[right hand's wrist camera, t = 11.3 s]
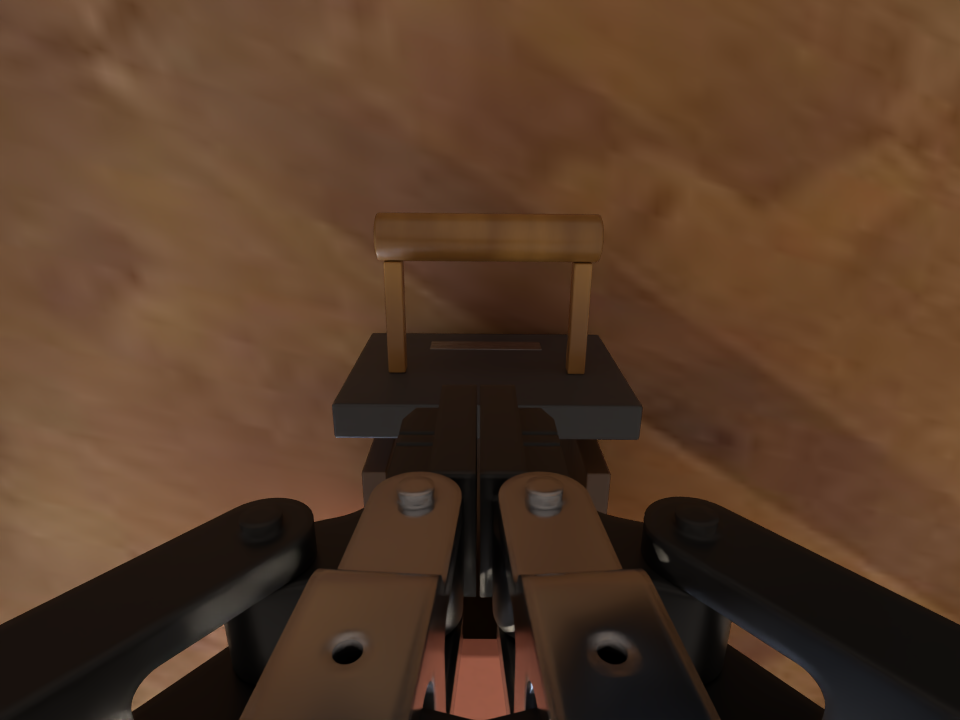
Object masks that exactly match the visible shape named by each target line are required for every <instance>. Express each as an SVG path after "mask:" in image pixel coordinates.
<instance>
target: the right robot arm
mask: <svg viewBox="0 0 960 720" xmlns="http://www.w3.org/2000/svg"><path fill="white" fill-rule="evenodd" d="M476 545H477V385H442V388H441V395H440V401H439V408H415V409H414V410H413V411H412V412H411V413H409V414H408V415H407V416H406V417H405V418H403V420H402V424H401V427H400V431H399V435H398V438H397V442H396V446H395V449H394V452H393V456H392V460H391V463H390V467H389V470H388V474H387V478H386V480H384V481H382V482H381V483H380V484H378V485H377V486H376V487H375V488H374V489H373V491H372V493H371V494H370V497H369V499H368V501H367V503H366V506H365V507H364V508H363V509H361V510H359V511H356V512H354V513H351V514H348V515H345V516H341V517H337V518H332V519H327V520H322V521H317V522H314V518H313V513H312V511H311V509H310V508H309V507H308V506H307V505H305V504H304V503H302V502H300V501H297V500H293V499H287V498H268V499H261V500H257V501H253V502H249V503H246V504H243V505H241V506H239V507H236V508H234V509H232V510H230V511H228V512H226V513H224V514H222V515H220V516H218V517H216V518H214V519H212V520H210V521H208V522H206V523H204V524H202V525H200V526H198V527H196V528H194V529H192V530H190V531H188V532H186V533H184V534H182V535H180V536H178V537H176V538H174V539H172V540H170V541H168V542H166V543H164V544H162V545H160V546H158V547H156V548H154V549H152V550H150V551H148V552H146V553H144V554H142V555H140V556H138V557H136V558H134V559H132V560H130V561H128V562H126V563H124V564H122V565H120V566H118V567H116V568H114V569H112V570H110V571H108V572H106V573H104V574H102V575H100V576H98V577H96V578H94V579H92V580H90V581H88V582H86V583H84V584H82V585H79V586H77V587H75V588H73V589H71V590H69V591H67V592H65V593H63V594H61V595H59V596H57V597H55V598H53V599H51V600H49V601H47V602H45V603H43V604H41V605H39V606H37V607H35V608H33V609H31V610H29V611H27V612H25V613H23V614H21V615H19V616H17V617H15V618H13V619H11V620H9V621H7V622H5V623H3V624H1V625H0V720H473V719H468V718H464V717H460V716H456V715H454V707H455V699H456V692H457V684H458V676H459V668H460V660H461V653H462V645H463V597H476ZM480 597H492V600H493V615H494V618H495V621H496V623H497V645H498V653H499V660H500V668H501V676H502V684H503V692H504V699H505V707H506V715H504V716H500V717H496V718H492V719H487V720H960V625H959V624H957V623H955V622H953V621H951V620H949V619H947V618H945V617H943V616H941V615H939V614H937V613H935V612H933V611H931V610H929V609H927V608H925V607H923V606H921V605H919V604H917V603H915V602H913V601H911V600H909V599H907V598H905V597H903V596H901V595H899V594H897V593H895V592H893V591H891V590H889V589H887V588H885V587H882V586H880V585H878V584H876V583H874V582H872V581H870V580H868V579H866V578H864V577H862V576H860V575H858V574H856V573H854V572H852V571H850V570H848V569H846V568H844V567H842V566H840V565H838V564H836V563H834V562H832V561H830V560H828V559H826V558H824V557H822V556H820V555H818V554H816V553H814V552H812V551H810V550H808V549H806V548H804V547H802V546H800V545H798V544H796V543H794V542H792V541H790V540H788V539H786V538H784V537H782V536H780V535H778V534H776V533H774V532H772V531H770V530H768V529H766V528H764V527H762V526H760V525H758V524H756V523H754V522H752V521H750V520H748V519H746V518H744V517H742V516H740V515H738V514H736V513H734V512H732V511H730V510H728V509H726V508H724V507H722V506H719V505H717V504H715V503H712V502H709V501H706V500H702V499H697V498H691V497H669V498H664V499H661V500H658V501H656V502H654V503H652V504H651V505H650V506H649V507H648V508H647V509H646V512H645V515H644V523H643V522H638V521H633V520H628V519H623V518H618V517H614V516H610V515H607V514H604V513H601V512H599V511H597V510H596V508H595V506H594V503H593V501H592V499H591V497H590V494H589V493H588V491H587V489H586V488H585V487H584V486H583V485H582V484H580V483H579V482H578V481H576V480H574V479H572V478H570V477H569V473H568V470H567V466H566V462H565V458H564V455H563V451H562V447H561V446H560V440H559V436H558V432H557V428H556V425H555V421H554V419H553V418H552V417H551V416H550V415H549V414H547V413H546V412H545V411H544V410H543V409H542V408H518V403H517V396H516V389H515V385H480ZM731 622H734V623H735V624H737V625H738V626H740V627H741V628H743V629H744V630H746V631H747V632H749V633H751V634H752V635H754V636H755V637H757V638H758V639H760V640H761V641H763V642H765V643H766V644H768V645H769V646H771V647H772V648H774V649H775V650H777V651H778V652H780V653H782V654H783V655H785V656H786V657H788V658H789V659H791V660H792V661H794V662H796V663H797V664H798V665H800V666H801V667H803V668H804V669H805V670H806V671H807V672H808V673H809V674H810V675H811V676H812V677H813V678H814V680H815V681H816V682H817V684H818V685H819V687H820V689H821V691H822V693H823V696H824V699H825V709H823V708H821V707H820V706H819V705H817V704H816V703H814V702H813V701H811V700H810V699H808V698H807V697H805V696H804V695H802V694H801V693H799V692H798V691H796V690H795V689H794V688H792V687H791V686H789V685H788V684H786V683H785V682H783V681H782V680H780V679H779V678H777V677H776V676H774V675H773V674H771V673H770V672H768V671H767V670H766V669H764V668H763V667H761V666H760V665H758V664H757V663H755V662H754V661H752V660H751V659H749V658H748V657H746V656H745V655H743V654H742V653H741V652H739V651H738V650H736V649H735V648H733V647H732V646H730V645H729V644H727V643H728V637H729V632H730V627H731ZM223 624H224V625H225V630H226V635H227V640H228V647H227V648H225V649H224V650H222V651H221V652H219V653H218V654H217V655H215V656H214V657H212V658H211V659H209V660H208V661H206V662H205V663H203V664H202V665H200V666H199V667H197V668H196V669H194V670H193V671H191V672H190V673H189V674H187V675H186V676H184V677H183V678H181V679H180V680H178V681H177V682H175V683H174V684H172V685H171V686H169V687H168V688H166V689H165V690H164V691H162V692H161V693H159V694H158V695H156V696H155V697H153V698H152V699H150V700H149V701H147V702H146V703H144V704H143V705H141V706H140V707H138V708H137V709H136V710H134V711H131V703H132V699H133V696H134V694H135V692H136V690H137V688H138V687H139V685H140V684H141V682H142V681H143V680H144V679H145V678H146V677H147V675H148V674H150V673H151V672H152V671H153V670H154V669H156V668H157V667H158V666H160V665H161V664H163V663H164V662H166V661H168V660H169V659H171V658H172V657H174V656H175V655H177V654H178V653H180V652H181V651H183V650H185V649H186V648H188V647H189V646H191V645H192V644H194V643H195V642H197V641H199V640H200V639H202V638H203V637H205V636H206V635H208V634H209V633H211V632H212V631H214V630H216V629H217V628H219V627H220V626H222V625H223Z"/></svg>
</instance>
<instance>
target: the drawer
mask: <svg viewBox="0 0 960 720" xmlns="http://www.w3.org/2000/svg"><path fill="white" fill-rule="evenodd" d="M603 238H604V230H603V221H602V218H601V216H600V215H592V214H476V213H377V214H376V217H375V220H374V248H375V253H376V256H377V259H378V260H380V261H384V263H383V265H384V286H385V306H386V327H387V333H373V334H372V335H371V337H370V339H369V340H368V342H367V344H366V346H365V347H364V349H363V351H362V353H361V355H360V356H359V358H358V360H357V362H356V363H355V365H354V367H353V369H352V371H351V372H350V374H349V376H348V378H347V379H346V381H345V383H344V385H343V387H342V388H341V390H340V392H339V394H338V395H337V397H336V399H335V401H334V403H333V405H332V410H333V422H334V433H335V437H337V438H374V440H373V443H372V446H371V449H370V451H369V454H368V457H367V460H366V463H365V465H364V468H363V471H362V482H363V496H364V507H365V506H366V503H367V501H368V499H369V497H370V494H371V493H372V491H373V489H374V488H375V487H376V486H377V485H378V484H380V483H381V482H382V481H384V480H386V478H387V474H388V470H389V467H390V463H391V460H392V456H393V452H394V449H395V446H396V442H397V438H398V435H399V431H400V427H401V424H402V420H403V418H405V417H406V416H407V415H408V414H409V413H411V412H412V411H413V410H414V409H415V408H439V401H440V395H441V388H442V385H477V545H476V597H463V639H497V623H496V621H495V618H494V615H493V600H492V597H480V385H515V389H516V396H517V403H518V408H542V409H543V410H544V411H545V412H546V413H547V414H549V415H550V416H551V417H552V418H553V419H554V421H555V425H556V428H557V432H558V436H559V440H560V446H561V447H562V451H563V455H564V458H565V462H566V466H567V470H568V473H569V477H570V478H572V479H574V480H576V481H578V482H579V483H580V484H582V485H583V486H584V487H585V488H586V489H587V491H588V493H589V494H590V497H591V499H592V501H593V503H594V506H595V508H596V510H597V511H599V512H601V513H604V514H607V507H608V496H609V486H610V476H611V474H610V472H609V469H608V467H607V464H606V462H605V459H604V457H603V454H602V452H601V449H600V447H599V444H598V442H597V439H598V440H638V439H639V435H640V426H641V418H642V409H643V408H642V405H641V404H640V402H639V400H638V399H637V397H636V396H635V394H634V392H633V391H632V389H631V388H630V386H629V384H628V383H627V381H626V379H625V378H624V376H623V375H622V373H621V371H620V370H619V368H618V366H617V365H616V363H615V362H614V360H613V358H612V357H611V355H610V353H609V352H608V350H607V349H606V347H605V345H604V344H603V342H602V341H601V339H600V337H599V336H598V335H587V333H588V320H589V306H590V293H591V280H592V266H593V265H592V263H591V262H598V261H599V259H600V257H601V253H602V248H603ZM403 261H496V262H572V274H571V290H570V305H569V321H568V335H544V334H417V333H406V317H405V290H404V263H403Z"/></svg>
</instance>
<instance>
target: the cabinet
mask: <svg viewBox="0 0 960 720" xmlns="http://www.w3.org/2000/svg"><path fill="white" fill-rule="evenodd" d="M454 715H456V716H460V717H464V718H468V719H473V720H487V719H492V718H496V717H500V716H504V715H506V707H505V699H504V692H503V684H502V676H501V668H500V660H499V653H498V645H497V639H463V645H462V653H461V660H460V668H459V676H458V684H457V692H456V699H455V707H454Z"/></svg>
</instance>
